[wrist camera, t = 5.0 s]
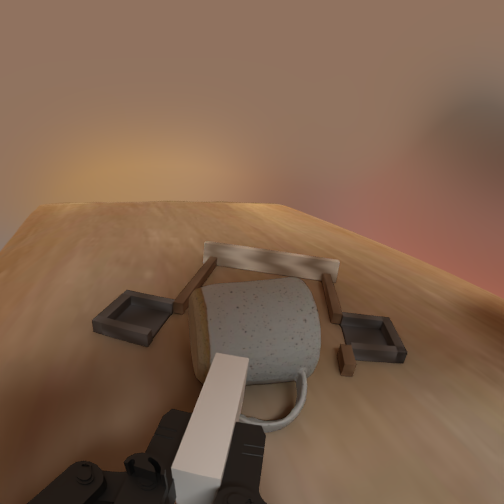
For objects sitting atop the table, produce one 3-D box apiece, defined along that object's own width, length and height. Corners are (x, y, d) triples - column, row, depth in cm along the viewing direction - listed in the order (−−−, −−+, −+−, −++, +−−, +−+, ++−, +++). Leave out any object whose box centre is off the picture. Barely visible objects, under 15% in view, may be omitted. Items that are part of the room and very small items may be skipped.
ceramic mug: (184, 347, 26) (187, 261, 23) (276, 342, 28) (290, 262, 26) (206, 447, 16) (211, 348, 14) (328, 426, 18) (363, 333, 16)
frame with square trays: (363, 283, 45) (368, 264, 44) (412, 382, 23) (424, 354, 22) (176, 256, 47) (177, 236, 46) (93, 331, 25) (89, 301, 24)
